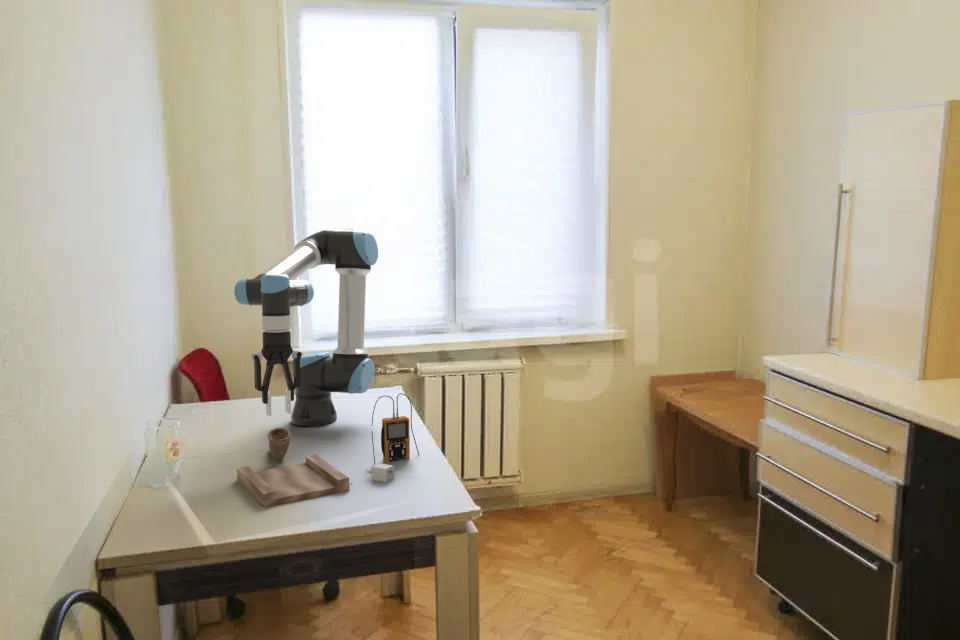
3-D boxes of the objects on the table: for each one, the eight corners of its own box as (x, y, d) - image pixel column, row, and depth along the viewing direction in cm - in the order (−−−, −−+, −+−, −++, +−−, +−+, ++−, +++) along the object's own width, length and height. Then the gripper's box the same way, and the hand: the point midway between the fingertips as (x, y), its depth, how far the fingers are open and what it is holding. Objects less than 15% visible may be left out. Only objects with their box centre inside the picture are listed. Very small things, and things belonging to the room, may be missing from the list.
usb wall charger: (385, 483, 201) (385, 469, 200) (364, 479, 204) (364, 465, 203) (394, 479, 204) (394, 464, 204) (373, 475, 207) (373, 461, 207)
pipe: (286, 450, 232) (285, 417, 231) (293, 465, 216) (291, 431, 215) (264, 452, 230) (263, 419, 228) (269, 468, 214) (268, 433, 213)
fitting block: (316, 466, 216) (315, 454, 215) (349, 490, 196) (349, 477, 195) (237, 480, 204) (236, 468, 204) (264, 507, 184) (263, 493, 183)
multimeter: (380, 474, 208) (378, 402, 206) (370, 464, 217) (368, 395, 215) (431, 467, 214) (430, 397, 211) (419, 458, 223) (418, 391, 221)
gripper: (303, 327, 218) (305, 407, 220) (240, 331, 209) (242, 414, 211) (312, 330, 212) (314, 412, 214) (247, 333, 202) (249, 420, 205)
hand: (278, 413), depth 212 cm, fingers open, 5 cm apart
